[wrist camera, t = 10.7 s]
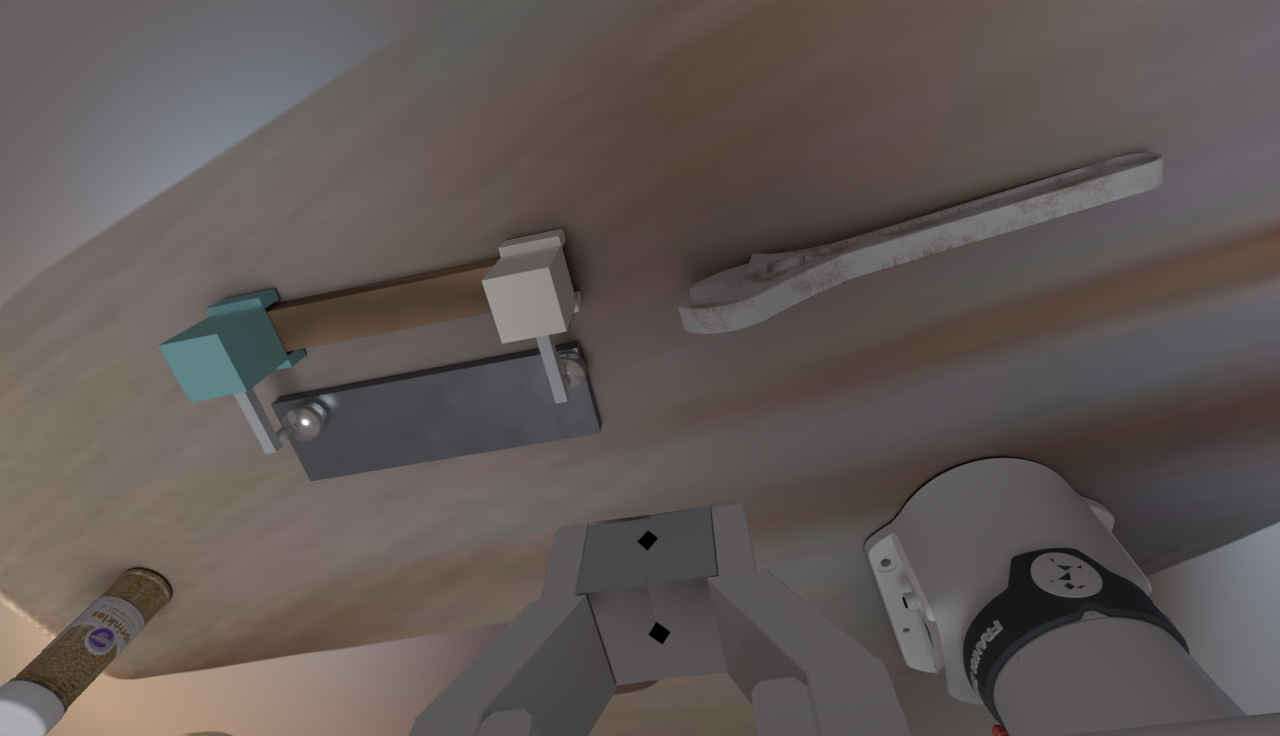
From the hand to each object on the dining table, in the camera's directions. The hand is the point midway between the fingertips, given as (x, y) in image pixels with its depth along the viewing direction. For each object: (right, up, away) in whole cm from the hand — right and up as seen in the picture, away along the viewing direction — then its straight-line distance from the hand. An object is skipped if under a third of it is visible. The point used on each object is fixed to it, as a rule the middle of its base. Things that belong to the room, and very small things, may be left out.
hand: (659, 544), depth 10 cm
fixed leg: (-6, +7, +34) cm, 36 cm away
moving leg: (-27, +4, +37) cm, 46 cm away
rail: (-17, +8, +35) cm, 40 cm away
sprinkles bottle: (-44, -17, +47) cm, 67 cm away
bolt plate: (-15, 0, +38) cm, 41 cm away
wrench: (+17, +12, +32) cm, 38 cm away
